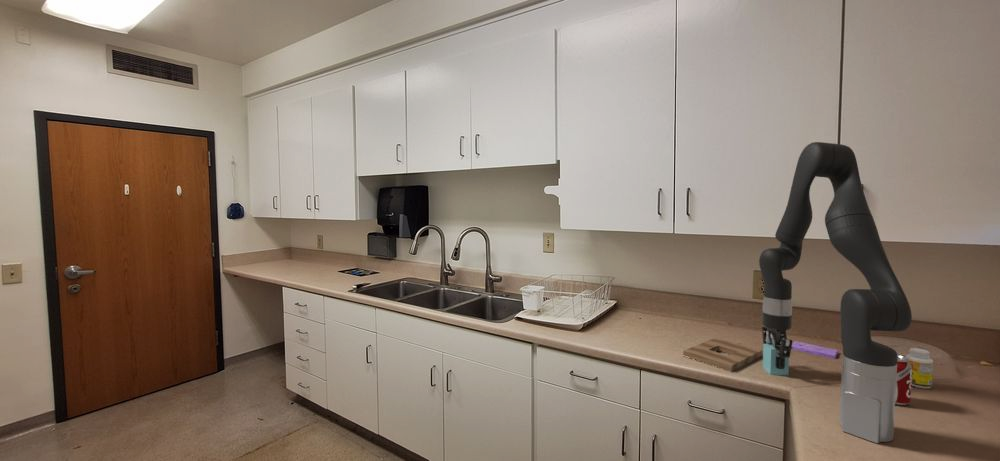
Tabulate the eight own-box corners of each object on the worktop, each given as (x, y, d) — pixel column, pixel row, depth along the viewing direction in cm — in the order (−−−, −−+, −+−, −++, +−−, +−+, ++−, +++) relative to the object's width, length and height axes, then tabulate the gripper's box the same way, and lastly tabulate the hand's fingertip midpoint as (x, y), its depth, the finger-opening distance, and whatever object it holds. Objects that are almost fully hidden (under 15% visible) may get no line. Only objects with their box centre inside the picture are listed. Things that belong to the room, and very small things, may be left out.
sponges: (794, 345, 149) (795, 340, 149) (838, 354, 139) (838, 349, 139) (789, 350, 144) (790, 345, 144) (834, 360, 135) (835, 354, 135)
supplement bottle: (899, 379, 119) (901, 345, 118) (924, 382, 117) (926, 348, 116) (910, 387, 114) (912, 352, 113) (936, 390, 111) (938, 355, 111)
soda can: (873, 392, 111) (875, 350, 110) (908, 399, 107) (910, 355, 106) (875, 401, 106) (878, 357, 105) (912, 409, 102) (914, 363, 101)
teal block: (788, 375, 123) (789, 350, 122) (770, 374, 123) (771, 349, 123) (779, 368, 127) (780, 344, 127) (762, 367, 128) (763, 343, 128)
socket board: (731, 371, 126) (731, 365, 126) (683, 356, 139) (683, 350, 139) (762, 355, 138) (762, 350, 138) (715, 342, 151) (715, 337, 151)
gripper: (803, 318, 116) (801, 375, 118) (778, 306, 131) (776, 356, 132) (775, 317, 118) (773, 373, 119) (753, 305, 132) (752, 355, 133)
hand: (775, 364), depth 125 cm, fingers closed on teal block, 5 cm apart
